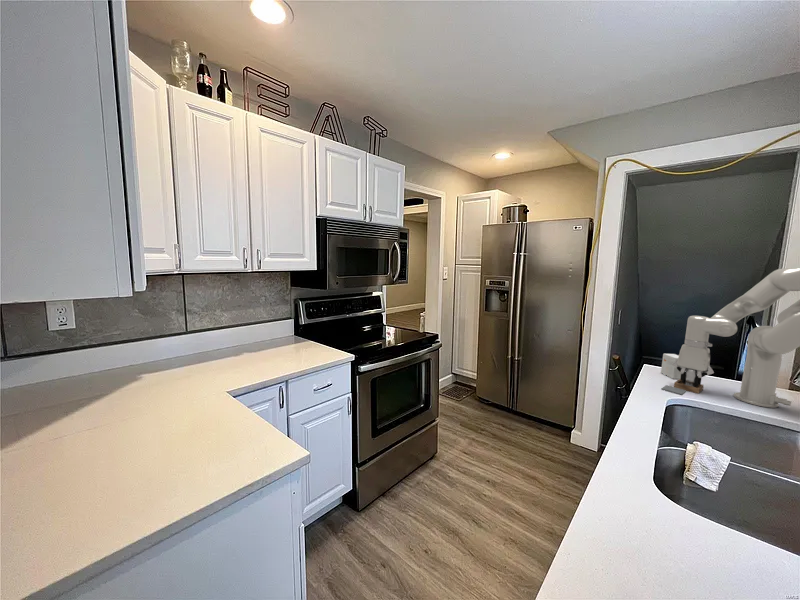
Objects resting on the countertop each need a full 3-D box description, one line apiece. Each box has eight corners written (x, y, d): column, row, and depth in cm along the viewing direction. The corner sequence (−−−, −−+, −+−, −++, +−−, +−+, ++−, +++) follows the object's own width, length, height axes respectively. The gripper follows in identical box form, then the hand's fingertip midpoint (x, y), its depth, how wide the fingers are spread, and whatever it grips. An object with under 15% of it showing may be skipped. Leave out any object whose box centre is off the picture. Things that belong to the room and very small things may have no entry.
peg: (696, 388, 146) (699, 369, 145) (694, 390, 144) (697, 371, 143) (684, 385, 149) (687, 366, 148) (682, 387, 147) (685, 368, 146)
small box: (684, 379, 158) (687, 358, 157) (672, 379, 158) (676, 358, 157) (671, 373, 166) (674, 353, 165) (660, 373, 166) (663, 353, 165)
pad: (686, 391, 143) (686, 390, 143) (681, 395, 138) (681, 393, 138) (666, 386, 148) (666, 385, 148) (661, 389, 144) (661, 388, 144)
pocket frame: (702, 389, 146) (703, 384, 146) (698, 393, 141) (699, 388, 141) (678, 383, 153) (679, 378, 152) (673, 387, 147) (674, 382, 147)
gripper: (723, 347, 140) (717, 388, 142) (674, 338, 153) (669, 376, 155) (720, 349, 135) (713, 391, 137) (669, 340, 148) (664, 379, 151)
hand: (690, 383), depth 146 cm, fingers closed on peg, 4 cm apart
